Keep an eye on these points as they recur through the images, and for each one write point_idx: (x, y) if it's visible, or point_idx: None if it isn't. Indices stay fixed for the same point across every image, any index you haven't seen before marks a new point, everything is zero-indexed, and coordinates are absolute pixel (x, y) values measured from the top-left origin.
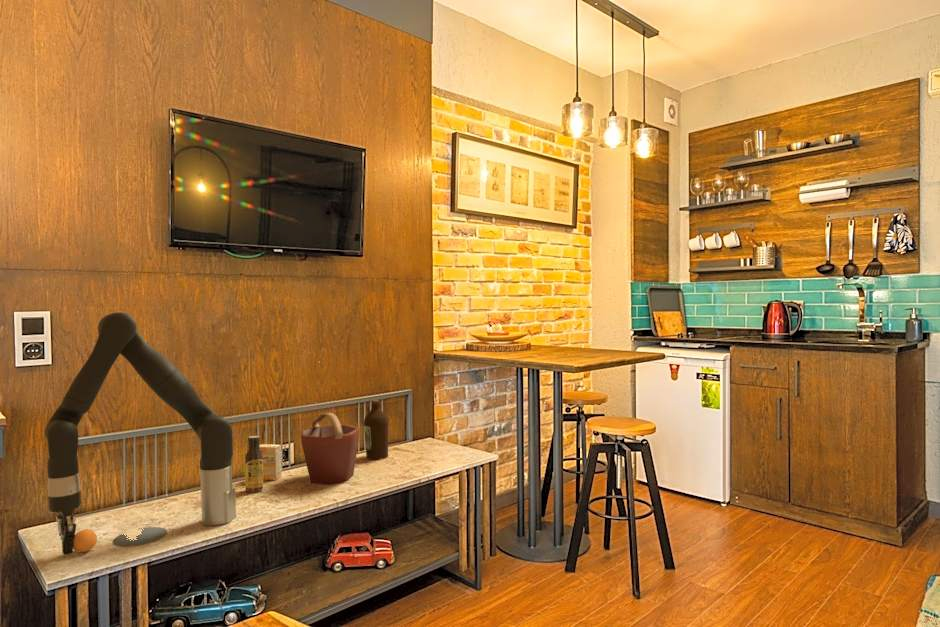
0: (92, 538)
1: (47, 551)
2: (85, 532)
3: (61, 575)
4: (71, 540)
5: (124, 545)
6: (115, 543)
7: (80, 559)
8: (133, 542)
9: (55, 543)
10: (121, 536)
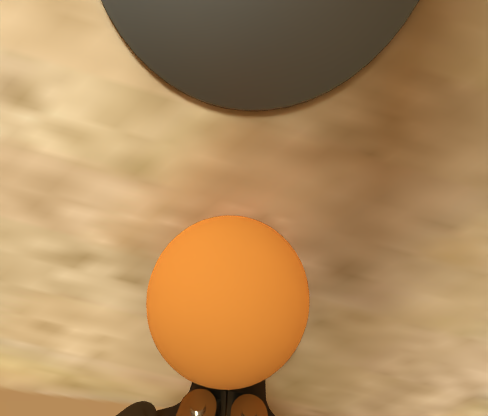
0: (302, 273)
1: (95, 362)
2: (267, 349)
3: (466, 404)
4: (246, 393)
5: (355, 72)
6: (263, 104)
7: (338, 303)
8: (353, 3)
9: (5, 314)
10: (157, 31)
